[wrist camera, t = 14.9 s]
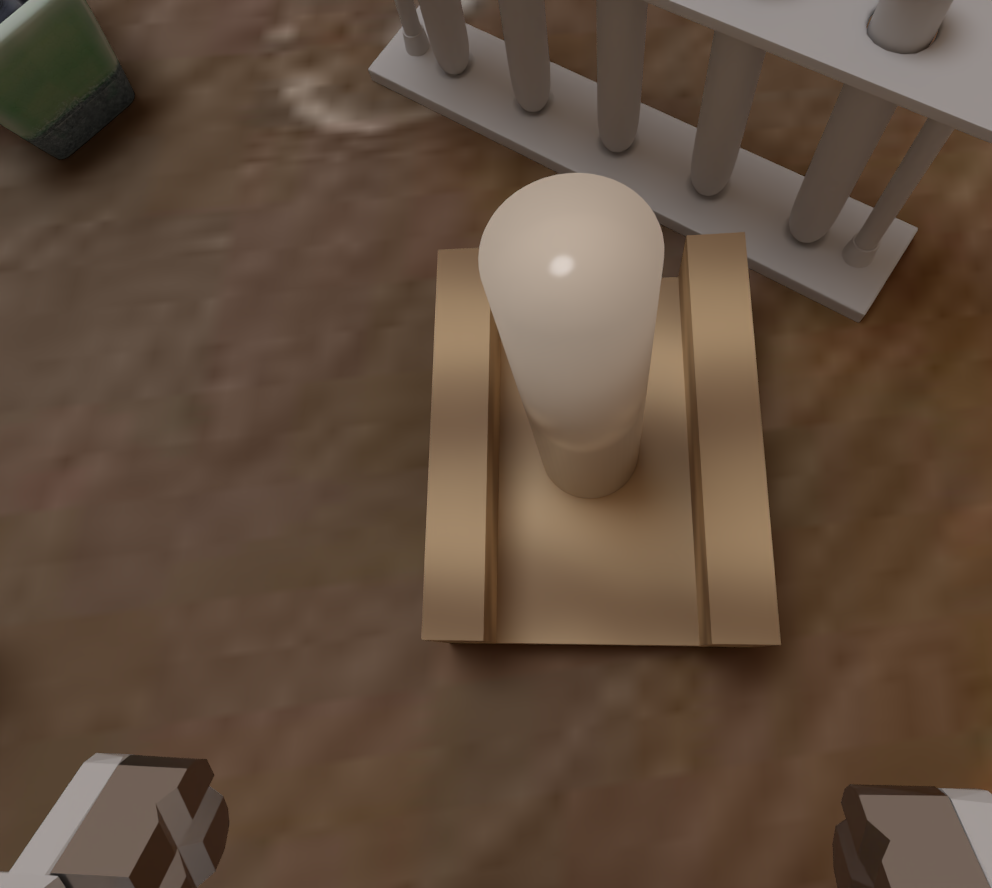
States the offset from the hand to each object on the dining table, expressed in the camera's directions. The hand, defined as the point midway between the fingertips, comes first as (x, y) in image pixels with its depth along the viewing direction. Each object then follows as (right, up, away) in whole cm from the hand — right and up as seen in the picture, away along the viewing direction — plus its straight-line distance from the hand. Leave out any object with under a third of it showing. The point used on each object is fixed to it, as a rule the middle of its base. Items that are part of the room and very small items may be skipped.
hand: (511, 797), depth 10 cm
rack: (+4, +4, +20) cm, 20 cm away
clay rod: (+3, +4, +18) cm, 19 cm away
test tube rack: (+5, +17, +24) cm, 30 cm away
